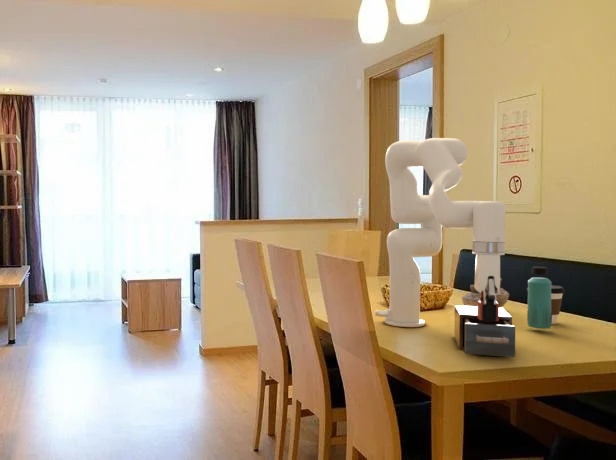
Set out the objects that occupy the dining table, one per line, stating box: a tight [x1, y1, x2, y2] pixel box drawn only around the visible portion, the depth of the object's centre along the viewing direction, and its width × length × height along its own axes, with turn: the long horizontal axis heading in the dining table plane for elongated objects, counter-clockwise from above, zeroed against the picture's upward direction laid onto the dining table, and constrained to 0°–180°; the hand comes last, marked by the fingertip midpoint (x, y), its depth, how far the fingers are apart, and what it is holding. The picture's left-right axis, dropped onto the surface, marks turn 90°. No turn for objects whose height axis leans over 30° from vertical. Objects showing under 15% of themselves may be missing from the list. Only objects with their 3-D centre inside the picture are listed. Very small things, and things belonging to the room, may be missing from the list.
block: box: [477, 300, 499, 321], centre depth 150 cm, size 4×4×4 cm
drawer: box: [463, 317, 516, 358], centre depth 150 cm, size 18×11×8 cm, turn 161°
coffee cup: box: [526, 284, 566, 325], centre depth 191 cm, size 11×11×12 cm
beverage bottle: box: [526, 266, 553, 330], centre depth 177 cm, size 6×7×20 cm
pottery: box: [461, 277, 510, 308], centre depth 207 cm, size 11×25×12 cm, turn 135°
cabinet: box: [453, 305, 513, 351], centre depth 161 cm, size 15×13×10 cm
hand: (487, 317), depth 150 cm, fingers closed on block, 4 cm apart
